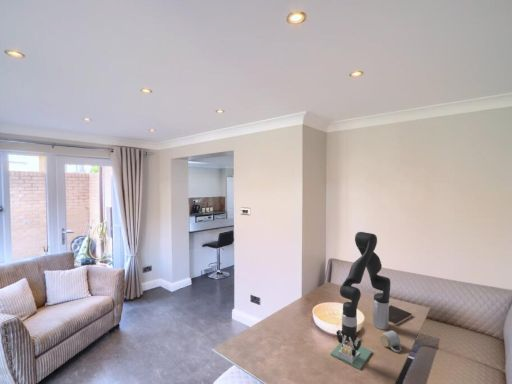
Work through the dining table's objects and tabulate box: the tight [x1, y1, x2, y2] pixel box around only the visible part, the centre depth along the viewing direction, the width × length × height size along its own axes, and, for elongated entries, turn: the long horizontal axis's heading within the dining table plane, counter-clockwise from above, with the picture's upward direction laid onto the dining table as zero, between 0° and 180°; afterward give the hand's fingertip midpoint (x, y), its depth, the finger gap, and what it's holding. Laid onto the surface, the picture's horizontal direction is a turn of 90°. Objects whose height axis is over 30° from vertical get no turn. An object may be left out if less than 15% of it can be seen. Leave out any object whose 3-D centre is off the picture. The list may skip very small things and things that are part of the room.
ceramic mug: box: [379, 330, 402, 353], centre depth 148 cm, size 11×8×8 cm
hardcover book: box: [388, 304, 413, 326], centre depth 183 cm, size 16×23×2 cm
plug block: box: [343, 341, 352, 355], centre depth 138 cm, size 5×4×6 cm
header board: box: [330, 343, 373, 370], centre depth 141 cm, size 18×16×6 cm
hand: (348, 353), depth 138 cm, fingers closed on plug block, 4 cm apart
